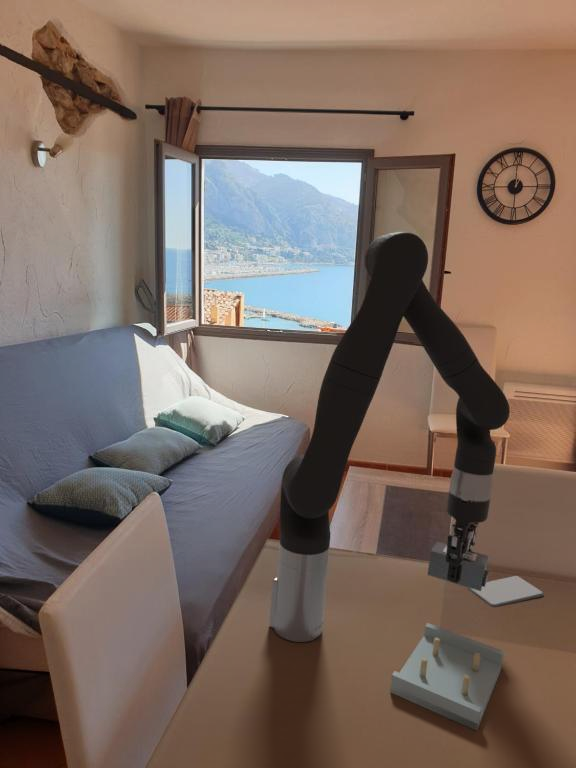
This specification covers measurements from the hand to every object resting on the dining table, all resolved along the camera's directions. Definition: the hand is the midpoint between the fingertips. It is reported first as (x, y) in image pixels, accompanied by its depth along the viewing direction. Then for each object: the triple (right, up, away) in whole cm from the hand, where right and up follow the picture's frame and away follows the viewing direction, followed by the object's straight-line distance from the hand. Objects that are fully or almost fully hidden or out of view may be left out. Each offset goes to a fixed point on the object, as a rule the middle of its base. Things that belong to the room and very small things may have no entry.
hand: (457, 574), depth 113 cm
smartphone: (+15, -10, +17) cm, 25 cm away
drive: (0, -1, 0) cm, 1 cm away
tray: (-5, -13, -13) cm, 20 cm away
